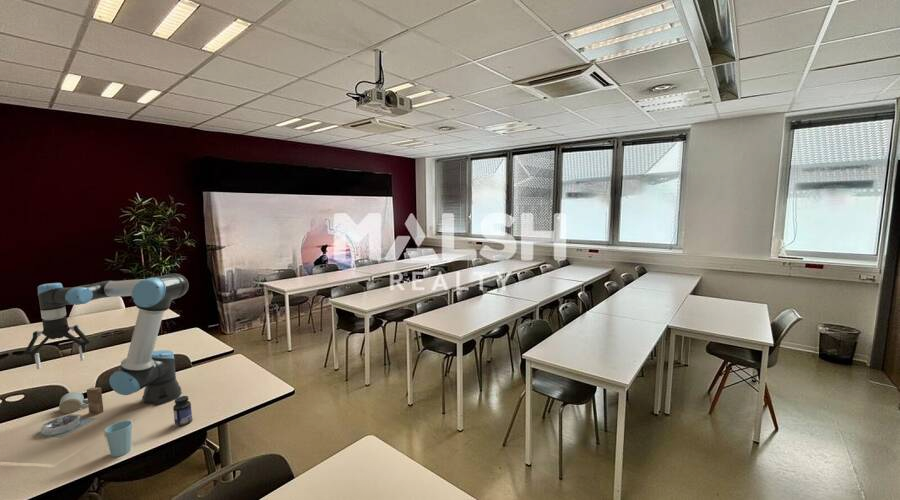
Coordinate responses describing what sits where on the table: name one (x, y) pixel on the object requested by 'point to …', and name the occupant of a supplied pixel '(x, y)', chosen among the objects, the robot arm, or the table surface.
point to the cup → (119, 438)
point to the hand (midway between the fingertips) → (61, 363)
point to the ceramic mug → (72, 402)
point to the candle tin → (61, 425)
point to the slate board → (83, 421)
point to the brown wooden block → (95, 400)
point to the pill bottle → (182, 411)
